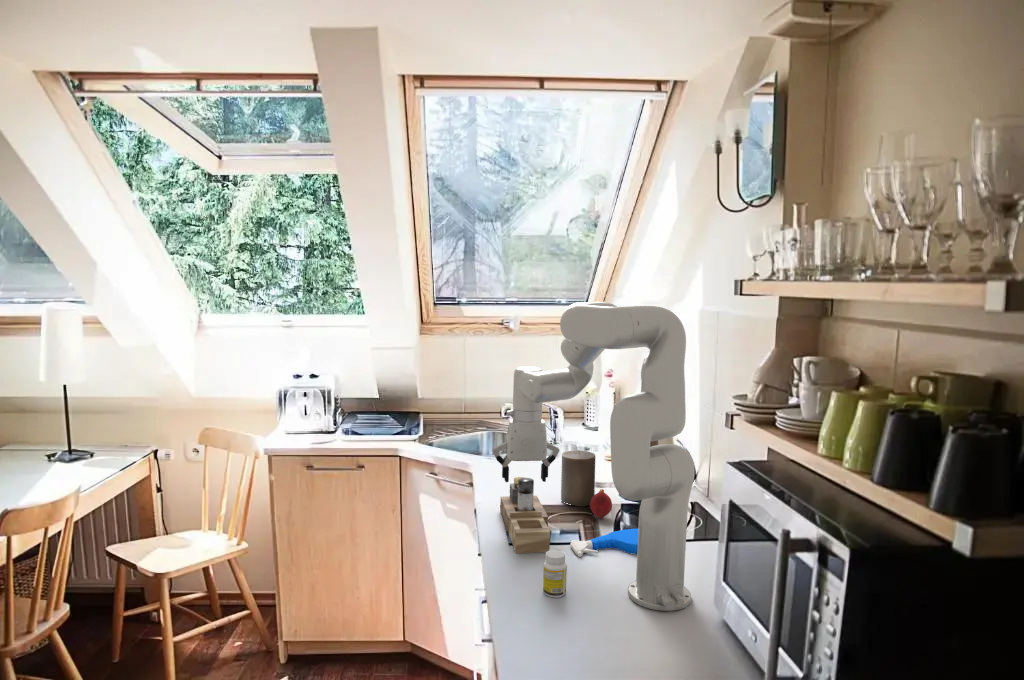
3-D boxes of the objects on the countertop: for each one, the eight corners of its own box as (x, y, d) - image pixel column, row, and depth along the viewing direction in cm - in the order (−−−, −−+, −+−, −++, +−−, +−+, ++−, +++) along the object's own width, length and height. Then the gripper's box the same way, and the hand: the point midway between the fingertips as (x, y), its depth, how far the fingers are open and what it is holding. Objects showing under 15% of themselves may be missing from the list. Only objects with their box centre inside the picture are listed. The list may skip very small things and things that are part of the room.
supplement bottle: (552, 585, 145) (553, 546, 144) (570, 592, 142) (571, 553, 141) (538, 593, 142) (539, 553, 141) (556, 600, 139) (558, 560, 138)
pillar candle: (601, 504, 196) (602, 452, 194) (571, 508, 191) (573, 455, 190) (582, 494, 204) (583, 444, 203) (553, 498, 200) (555, 447, 198)
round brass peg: (527, 496, 185) (528, 480, 184) (514, 496, 184) (515, 481, 184) (525, 491, 188) (526, 476, 188) (512, 492, 188) (513, 477, 187)
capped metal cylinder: (533, 528, 177) (535, 482, 175) (518, 528, 176) (519, 482, 175) (531, 522, 181) (532, 477, 179) (516, 522, 180) (517, 478, 179)
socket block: (547, 532, 174) (548, 502, 173) (508, 533, 173) (509, 504, 172) (536, 509, 190) (537, 482, 189) (500, 510, 188) (500, 483, 188)
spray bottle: (657, 524, 174) (565, 533, 168) (678, 541, 163) (580, 551, 158) (657, 535, 174) (565, 545, 168) (677, 553, 164) (579, 564, 158)
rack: (549, 551, 162) (550, 527, 161) (515, 553, 161) (516, 528, 160) (540, 533, 173) (541, 510, 172) (509, 535, 172) (509, 511, 171)
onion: (610, 523, 181) (611, 493, 180) (588, 521, 182) (589, 491, 181) (612, 515, 187) (613, 486, 186) (590, 513, 188) (591, 485, 187)
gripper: (495, 419, 170) (493, 485, 173) (563, 418, 173) (560, 484, 175) (491, 412, 178) (489, 476, 180) (557, 411, 180) (554, 475, 182)
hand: (524, 480), depth 177 cm, fingers open, 9 cm apart
